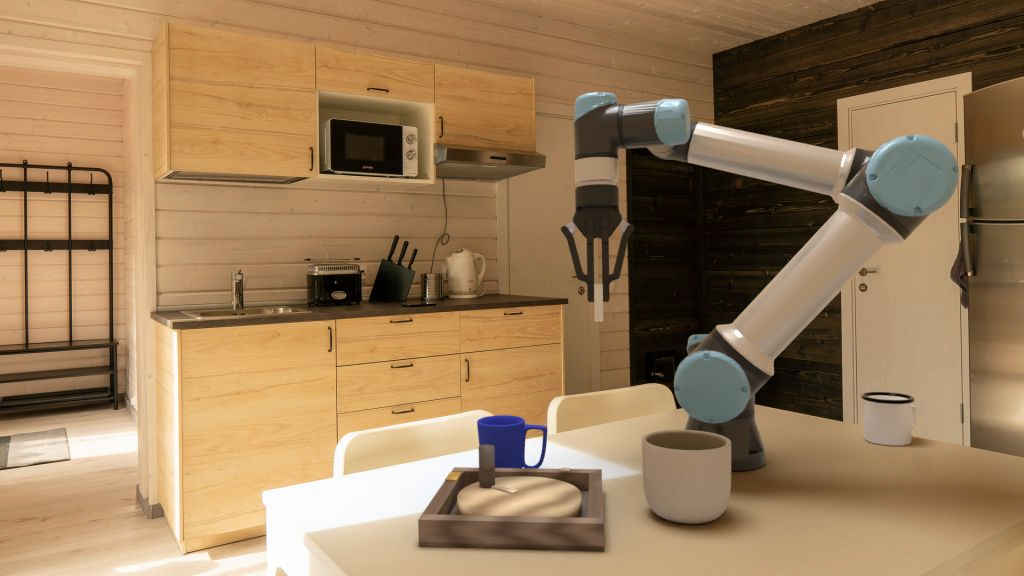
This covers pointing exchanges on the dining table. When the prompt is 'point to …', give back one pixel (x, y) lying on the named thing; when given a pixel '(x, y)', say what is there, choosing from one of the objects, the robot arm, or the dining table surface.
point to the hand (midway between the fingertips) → (598, 321)
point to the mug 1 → (508, 439)
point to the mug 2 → (888, 418)
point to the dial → (517, 494)
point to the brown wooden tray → (515, 531)
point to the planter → (686, 474)
